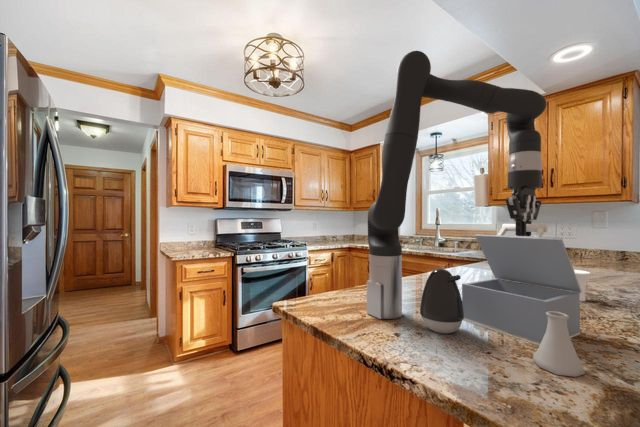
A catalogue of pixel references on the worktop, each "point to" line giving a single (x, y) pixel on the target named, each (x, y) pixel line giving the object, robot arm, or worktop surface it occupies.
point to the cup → (582, 282)
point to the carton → (518, 308)
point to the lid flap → (529, 258)
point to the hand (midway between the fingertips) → (523, 235)
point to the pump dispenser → (442, 302)
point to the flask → (558, 348)
